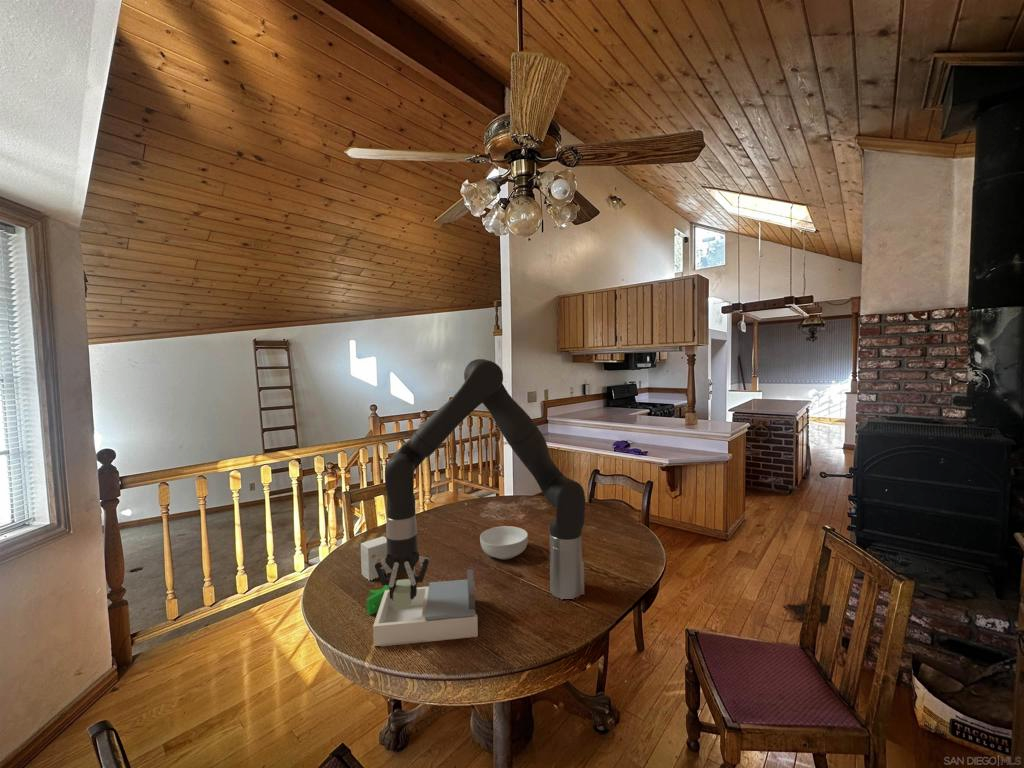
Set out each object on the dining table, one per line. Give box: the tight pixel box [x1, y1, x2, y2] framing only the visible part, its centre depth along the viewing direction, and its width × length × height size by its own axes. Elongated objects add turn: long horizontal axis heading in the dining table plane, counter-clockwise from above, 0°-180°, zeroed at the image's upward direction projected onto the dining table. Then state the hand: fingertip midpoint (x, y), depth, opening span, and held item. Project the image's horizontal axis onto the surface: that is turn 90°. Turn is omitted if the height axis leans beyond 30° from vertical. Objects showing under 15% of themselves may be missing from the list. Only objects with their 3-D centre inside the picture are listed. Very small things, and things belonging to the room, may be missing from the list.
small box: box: [360, 535, 392, 582], centre depth 131 cm, size 8×6×10 cm
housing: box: [372, 582, 479, 647], centre depth 106 cm, size 24×16×5 cm, turn 98°
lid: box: [425, 569, 476, 620], centre depth 106 cm, size 12×16×4 cm
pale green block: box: [393, 578, 412, 610], centre depth 105 cm, size 4×7×4 cm, turn 8°
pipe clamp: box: [366, 585, 390, 616], centre depth 114 cm, size 11×4×5 cm, turn 145°
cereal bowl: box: [479, 525, 529, 560], centre depth 144 cm, size 17×17×7 cm
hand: (403, 598), depth 105 cm, fingers closed on pale green block, 4 cm apart
